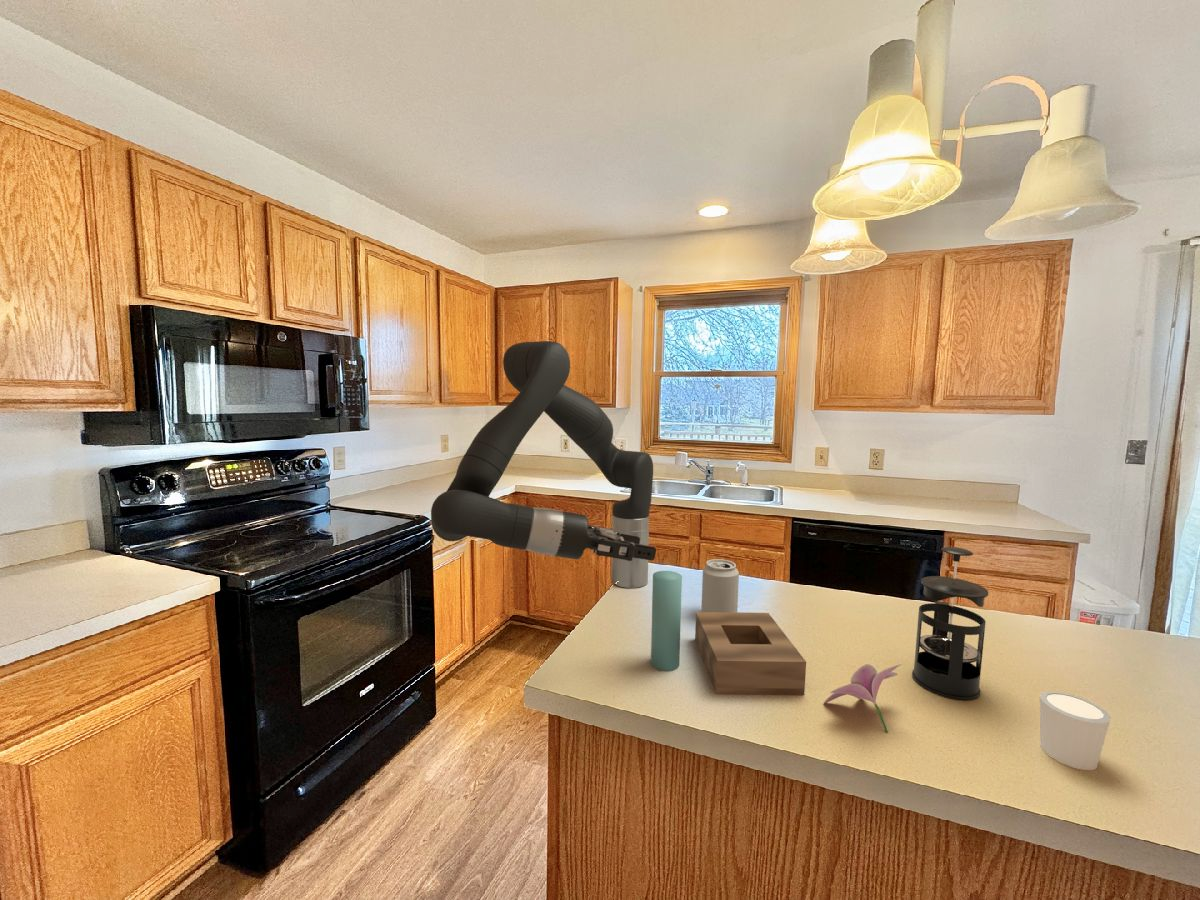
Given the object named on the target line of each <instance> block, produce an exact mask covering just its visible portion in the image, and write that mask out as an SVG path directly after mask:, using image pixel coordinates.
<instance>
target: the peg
mask: <svg viewBox="0 0 1200 900" xmlns="http://www.w3.org/2000/svg"><path fill="white" fill-rule="evenodd" d="M682 581H683V576H682V574H680V573H678V572H676V571H672V570H660V571H656V572H653V574H652V595H651V597H652V598H651V599H652V600H651V639H650V640H651V641H650V643H651V644H650V646H651V647H650V664H651V666H652V667H653V668H654V669H656V670H658V671H662V672H671V671H675V670H677V669H678V668H679V667H680V657H681V656H680V653H681V652H680V651H681V623H682V622H681V619H682V617H681V616H682V592H683V591H682V587H683V582H682Z"/></svg>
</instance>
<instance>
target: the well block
mask: <svg viewBox="0 0 1200 900" xmlns="http://www.w3.org/2000/svg"><path fill="white" fill-rule="evenodd" d="M694 626H695V628H694V630H695V632H694V633H695V635H694V640H695V642H696V645H697V648H698V650H699V653H700V655H701V657H702V660H703V663H704V665H705V669H706V671H707V673H708V675H709V678H710V681H711V684H712V686H713V689H714V691H715V694H716V695H717V694H718V695H721V694H723V695H801V696H802V695H805V691H806V689H805V688H806V673H807V672H806V671H807V661H806V659H805V658H804V656H803V655H802V654H801V653H800V652H799V651H798V649H797V648H796V647H795V645H794V644H793V643H792V642H791V640H790V638H789V637H788V636H787V635H786V633H785V632H784V631H783V630H782V628H781V627H780V626H779V625H778V623H777V621H775V619H774V618H773V617H772V615H771V614H770V613H769V612H744V611H743V612H739V611H737V612H701V611H697V612H695V625H694Z"/></svg>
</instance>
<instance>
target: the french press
mask: <svg viewBox="0 0 1200 900" xmlns="http://www.w3.org/2000/svg"><path fill="white" fill-rule="evenodd" d="M940 549H941V551H942V552H944V553H947V554H951V555H952V561H953V562H954V566H953V567H954V568H953V576H952V577H950V576H941V575H931V576H929V575H928V576H926V577H925V576H924V577H922V578H921V579H920V581H921V584H922V585H923V596H925V597H926V598H927V599H929V600H931V601H935V602H934V603H924V604H921V605H920V606H919V607H918V616H917V626H916V629H917V630H916V639H915V640H916V641H915V653H914V664H913V669H912V672H911V677H912V678H913V680H915V681H916V682H915V681H914V682H915V683H916V684H917V683H918V686H920V687H921V686H922V687H921V688H923V689H924V690H926V689H927V690H926V691H928V690H929V691H928V692H930V691H931V693H932V692H933V693H932V694H935V695H937V694H938V695H937V696H940V695H941V696H940V697H943V696H944V698H946V697H947V699H951V700H957V701H973V699H974V700H976V699H978V698H980V696H981V692H982V691H981V688H980V684H981V674H982V673H981V672H982V664H983V663H982V661H983V651H984V641H985V633H986V620H985V618H983V616H981V615H980V614H977V613H976V612H974V611H971V610H969V609H966V608H963V607H959V606H955V605H954V604H955V598H963V599H967V600H969V601H971V602H972V603H973V604H974V605H976V606H977V607H979V608H983V607H984V605H985V598H987V597H988V596H989V591H988V589H986V587H983V586H981V585H980V584H977V583H974V582H972V581H969V580H965V579H961V578H957V573H958V572H957V570H958V563H959V562H960V561H961V556H962V557H970V556H974V553H973V551H971V550H968V549H966V548H962V547H956V546H945V547H942V548H940ZM947 599H950V600H951V601H950V604H949V603H948V602H944V601H943V600H947ZM927 612H933V617H931V616H929V615H927V614H925V613H927ZM953 615H957V616H961V617H964V618H966V619H970V620H971V621H974V622H975V623H977V624H978V625H977V626H968V625H967V626H965V625H964V626H963V625H958V624H953V617H954V616H953ZM922 622H923V623H924V624H926V625H928V626H930V627H932V632H931V633H932V634H926V635H922V624H923V623H922ZM976 635H977V636H978V641H977V648H975V647H974V646H972V645H970V644H969V643H966V641H965V639H966V636H976ZM920 648H921V650H923V651H920ZM973 663H976V664H973ZM938 672H939V673H938ZM940 673H945V674H947V676H946V675H943V674H940Z"/></svg>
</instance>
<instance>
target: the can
mask: <svg viewBox="0 0 1200 900" xmlns="http://www.w3.org/2000/svg"><path fill="white" fill-rule="evenodd" d="M736 567H737V564H736V563H735V562H734V561H732V560H727V559H723V558H721V559H720V558H715V559H714V558H713V559H708V560H706V562H705V566H704V567H702V581H701V584H702V585H701V611H700V612H738V606H739V604H738V603H739V583H740V582H739V580H740V579H739V576H740V572H739V570H738V569H737V568H736Z"/></svg>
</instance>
